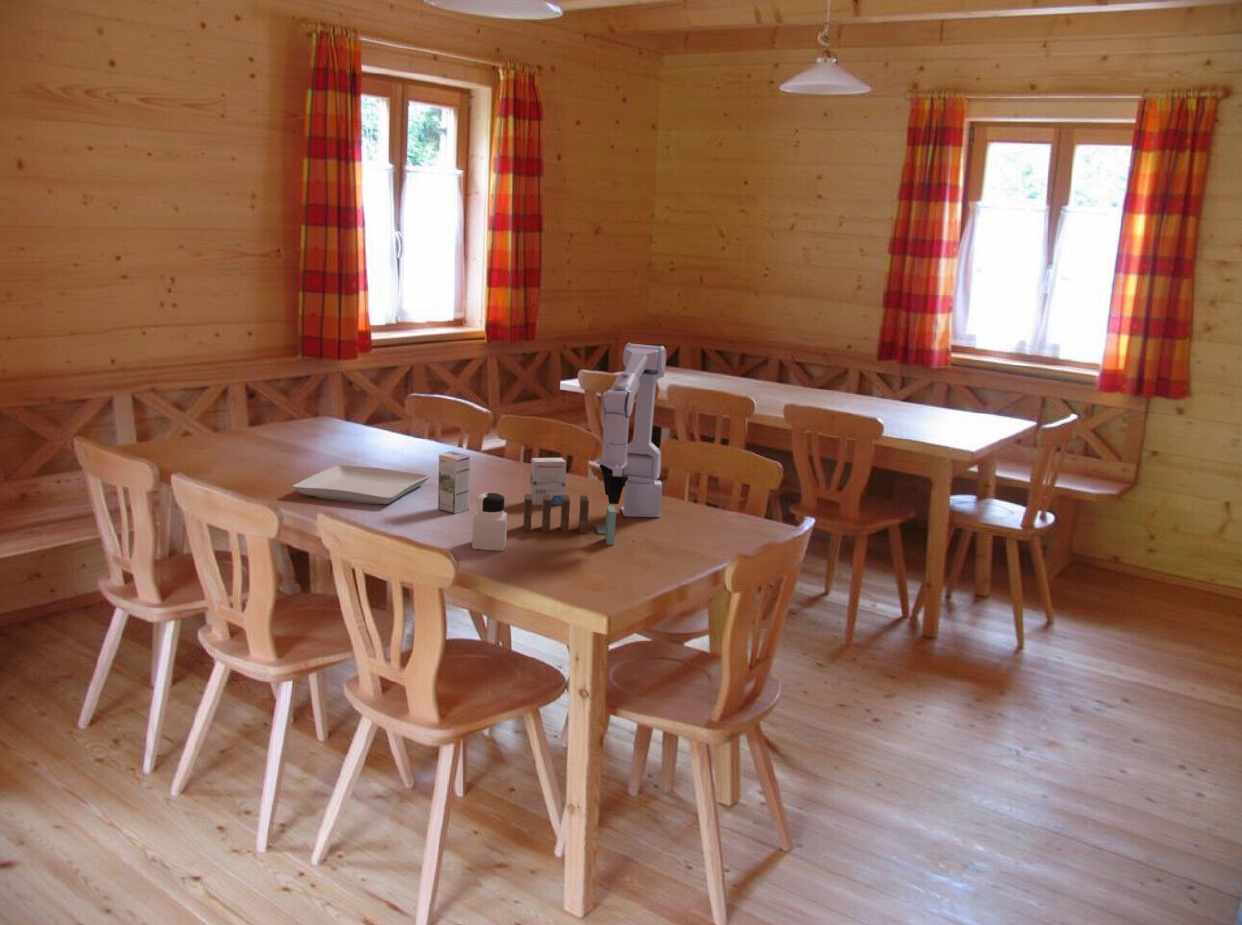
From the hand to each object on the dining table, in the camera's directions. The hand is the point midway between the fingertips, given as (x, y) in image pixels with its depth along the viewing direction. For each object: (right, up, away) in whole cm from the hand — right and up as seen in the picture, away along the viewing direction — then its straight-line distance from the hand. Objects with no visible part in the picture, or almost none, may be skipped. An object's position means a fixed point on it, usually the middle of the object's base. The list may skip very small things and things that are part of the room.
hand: (611, 499), depth 254 cm
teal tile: (-1, -10, +2) cm, 10 cm away
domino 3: (-12, -8, +10) cm, 17 cm away
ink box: (-17, -2, +33) cm, 37 cm away
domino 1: (-21, -7, +9) cm, 23 cm away
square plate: (-66, 0, +33) cm, 74 cm away
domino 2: (-16, -8, +9) cm, 20 cm away
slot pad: (-2, -8, +11) cm, 14 cm away
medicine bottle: (-28, -11, -6) cm, 30 cm away
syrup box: (-40, -4, +21) cm, 45 cm away
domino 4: (-7, -8, +10) cm, 15 cm away
